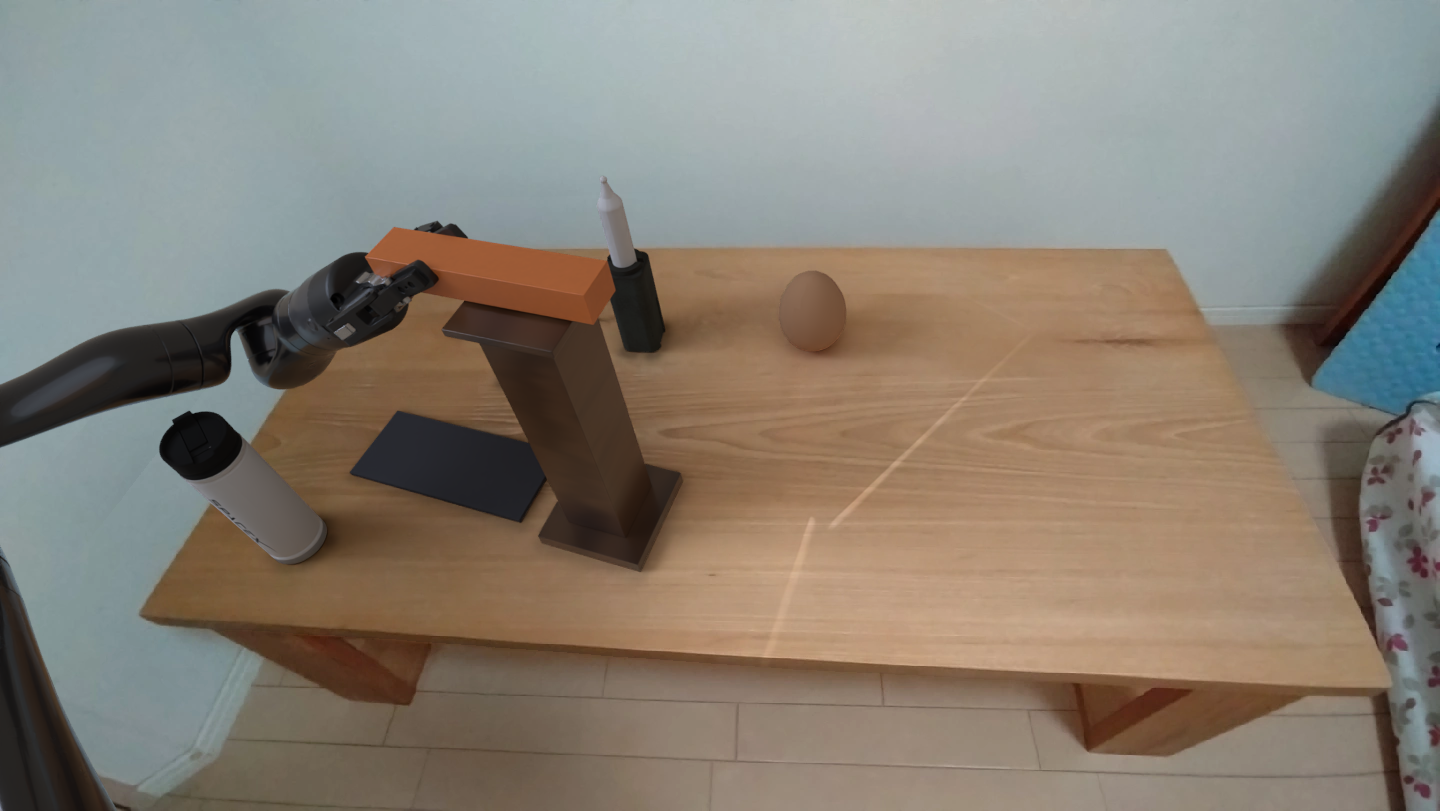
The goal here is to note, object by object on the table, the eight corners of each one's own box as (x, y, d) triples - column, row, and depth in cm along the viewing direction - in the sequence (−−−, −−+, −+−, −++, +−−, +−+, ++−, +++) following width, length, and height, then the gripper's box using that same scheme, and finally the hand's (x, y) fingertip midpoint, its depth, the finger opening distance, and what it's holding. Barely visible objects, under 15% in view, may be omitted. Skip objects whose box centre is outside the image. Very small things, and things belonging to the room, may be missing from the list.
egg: (859, 340, 98) (861, 272, 90) (815, 377, 95) (813, 310, 87) (810, 311, 103) (808, 244, 94) (767, 346, 100) (761, 279, 91)
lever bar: (616, 290, 60) (607, 260, 58) (593, 325, 58) (584, 295, 56) (408, 254, 66) (393, 226, 64) (380, 285, 64) (364, 256, 62)
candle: (659, 353, 101) (619, 190, 82) (622, 351, 102) (573, 190, 83) (667, 325, 104) (630, 162, 85) (630, 324, 105) (586, 163, 86)
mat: (562, 453, 92) (560, 450, 92) (520, 523, 86) (519, 520, 86) (399, 413, 99) (397, 410, 99) (351, 475, 93) (349, 472, 93)
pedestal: (683, 480, 87) (625, 259, 63) (640, 572, 81) (557, 364, 56) (589, 457, 91) (501, 240, 67) (541, 543, 84) (422, 336, 60)
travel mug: (315, 505, 91) (211, 396, 76) (336, 541, 87) (230, 434, 72) (264, 537, 89) (146, 431, 74) (283, 576, 85) (163, 472, 70)
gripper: (421, 283, 78) (521, 234, 67) (332, 385, 70) (429, 348, 59) (362, 226, 74) (458, 163, 63) (261, 327, 66) (350, 276, 55)
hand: (443, 253), depth 61 cm, fingers closed on lever bar, 4 cm apart
